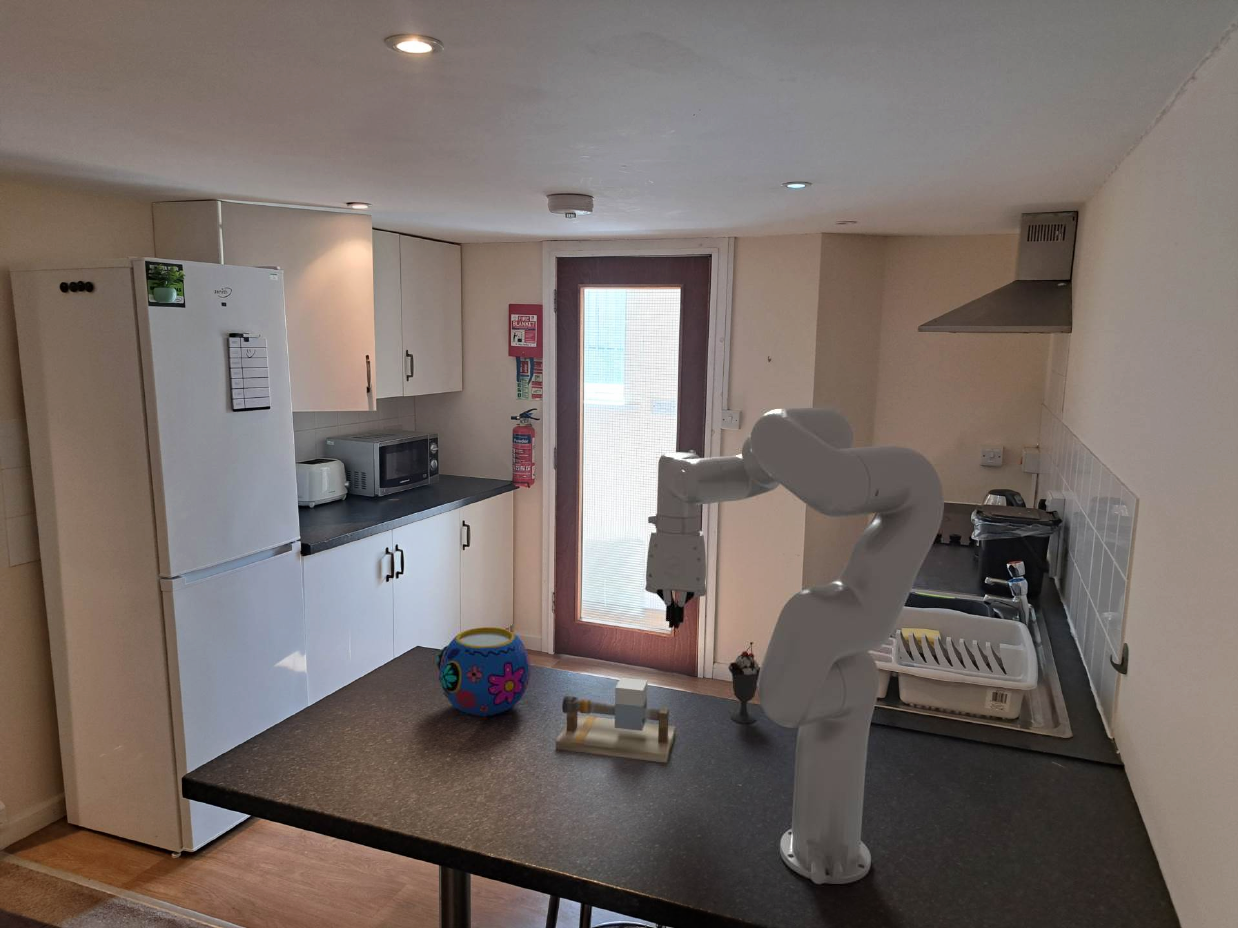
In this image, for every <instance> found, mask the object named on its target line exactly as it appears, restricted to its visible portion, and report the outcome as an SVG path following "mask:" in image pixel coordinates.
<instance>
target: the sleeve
mask: <svg viewBox="0 0 1238 928" xmlns="http://www.w3.org/2000/svg"><path fill="white" fill-rule="evenodd" d="M648 683H649V682H648V680H646V679H638V678H627V677H620V678H619V680H618V682H617V684H616V685H615V689H614V690H615V692H614V693H615V694H614V699H615V700H614V704H615V716H614V719H615V728H621V729H629V730H638V731H642V730H643V727H644V725H645V723H647V719H643V708H644V707H645V708H648Z"/></svg>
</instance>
